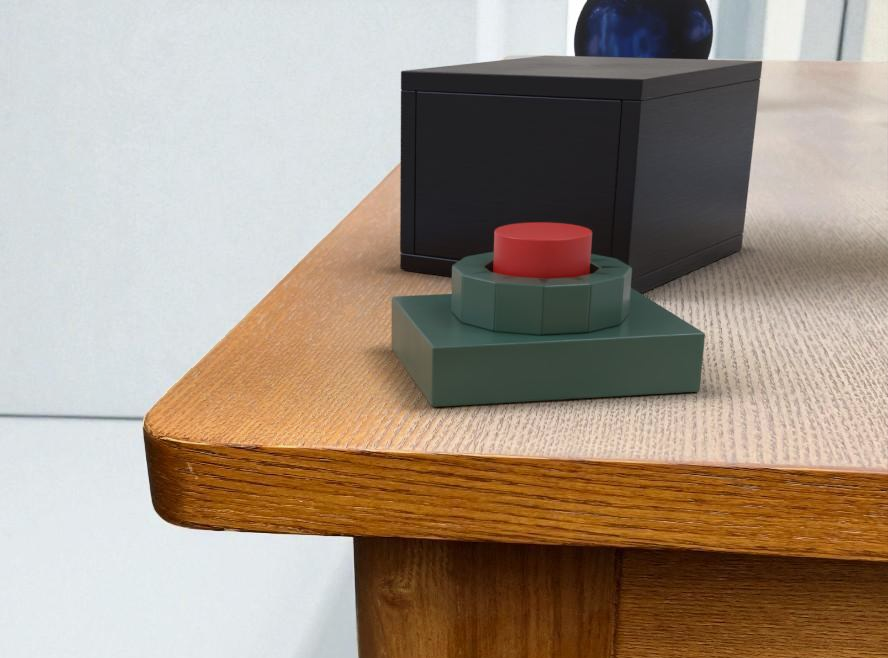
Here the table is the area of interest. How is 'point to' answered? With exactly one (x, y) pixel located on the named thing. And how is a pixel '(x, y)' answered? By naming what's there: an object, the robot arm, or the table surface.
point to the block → (542, 338)
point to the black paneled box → (579, 158)
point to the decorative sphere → (644, 29)
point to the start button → (542, 250)
